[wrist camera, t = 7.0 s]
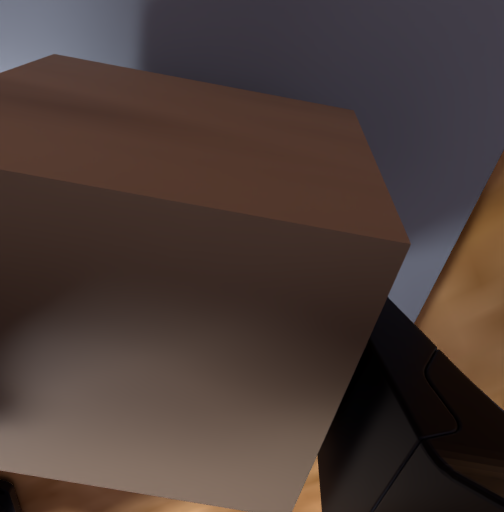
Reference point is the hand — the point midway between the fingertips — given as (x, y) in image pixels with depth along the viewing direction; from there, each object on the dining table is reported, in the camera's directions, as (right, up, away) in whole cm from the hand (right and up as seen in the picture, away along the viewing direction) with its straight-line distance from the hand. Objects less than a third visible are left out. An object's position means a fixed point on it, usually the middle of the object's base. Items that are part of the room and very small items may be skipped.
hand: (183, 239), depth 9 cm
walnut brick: (0, +1, +1) cm, 1 cm away
